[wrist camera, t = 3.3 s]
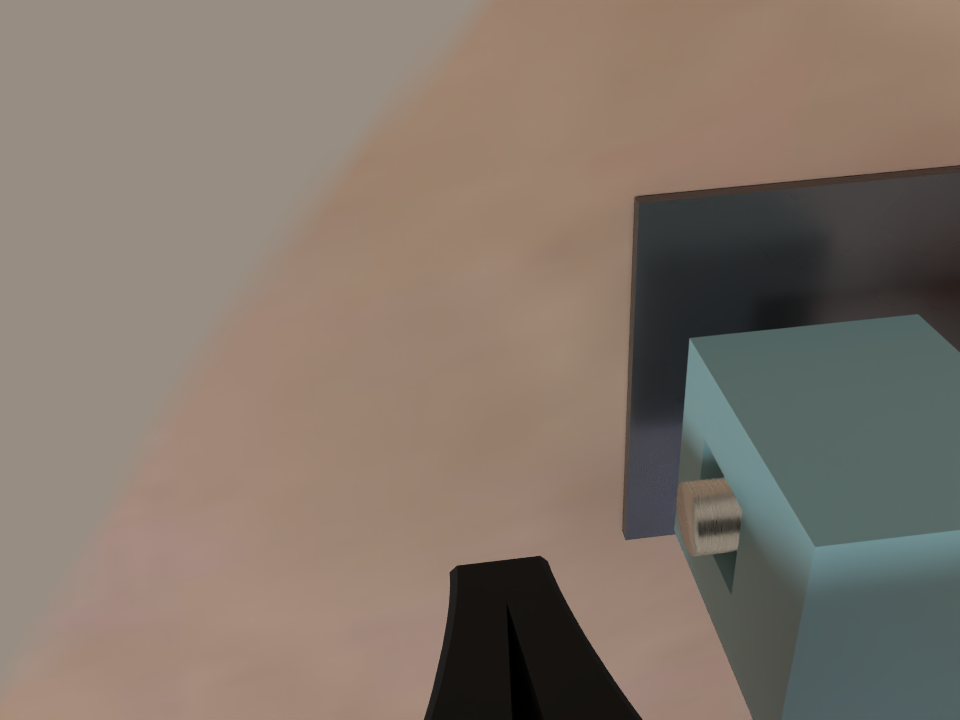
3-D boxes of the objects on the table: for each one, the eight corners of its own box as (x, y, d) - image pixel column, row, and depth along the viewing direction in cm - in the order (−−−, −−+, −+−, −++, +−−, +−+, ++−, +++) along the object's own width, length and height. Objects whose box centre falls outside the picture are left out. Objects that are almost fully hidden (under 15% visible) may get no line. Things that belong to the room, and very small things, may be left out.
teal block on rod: (871, 507, 17) (1032, 730, 13) (674, 530, 17) (771, 764, 13) (918, 313, 15) (1130, 509, 11) (689, 338, 15) (815, 547, 11)
